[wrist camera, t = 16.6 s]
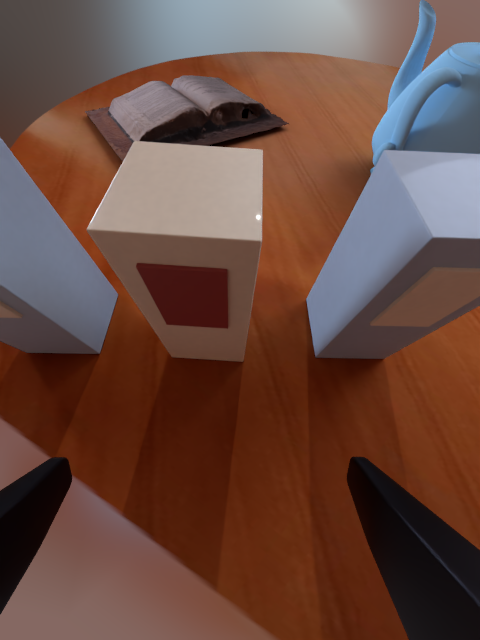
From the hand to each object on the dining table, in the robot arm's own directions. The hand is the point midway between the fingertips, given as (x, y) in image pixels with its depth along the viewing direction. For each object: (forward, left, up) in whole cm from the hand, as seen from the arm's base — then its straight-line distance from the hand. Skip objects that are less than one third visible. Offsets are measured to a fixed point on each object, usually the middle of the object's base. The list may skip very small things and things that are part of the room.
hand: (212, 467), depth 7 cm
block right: (+14, -5, -10) cm, 18 cm away
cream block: (+8, +5, -10) cm, 14 cm away
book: (+41, +28, -10) cm, 50 cm away
